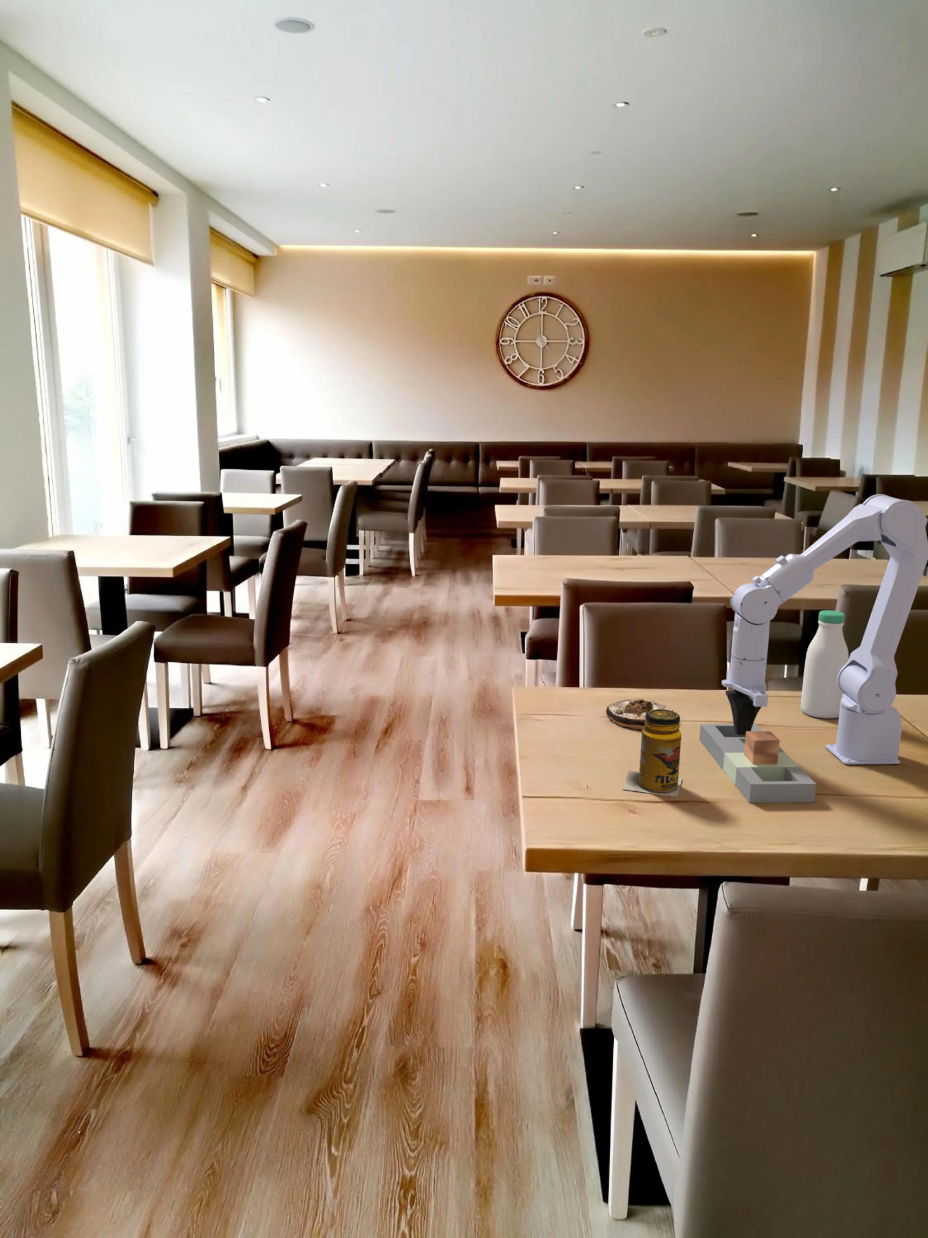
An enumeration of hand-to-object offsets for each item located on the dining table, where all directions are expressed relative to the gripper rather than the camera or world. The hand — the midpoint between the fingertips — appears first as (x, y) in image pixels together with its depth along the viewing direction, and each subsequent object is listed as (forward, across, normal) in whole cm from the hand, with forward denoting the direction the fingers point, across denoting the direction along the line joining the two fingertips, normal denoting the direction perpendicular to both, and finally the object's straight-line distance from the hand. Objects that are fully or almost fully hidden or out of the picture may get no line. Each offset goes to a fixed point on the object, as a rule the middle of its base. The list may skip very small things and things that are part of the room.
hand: (742, 733), depth 159 cm
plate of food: (+5, -18, -13) cm, 23 cm away
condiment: (+4, +12, -18) cm, 22 cm away
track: (+4, +6, 0) cm, 7 cm away
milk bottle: (+4, -21, +23) cm, 31 cm away
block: (+1, +9, 0) cm, 9 cm away
